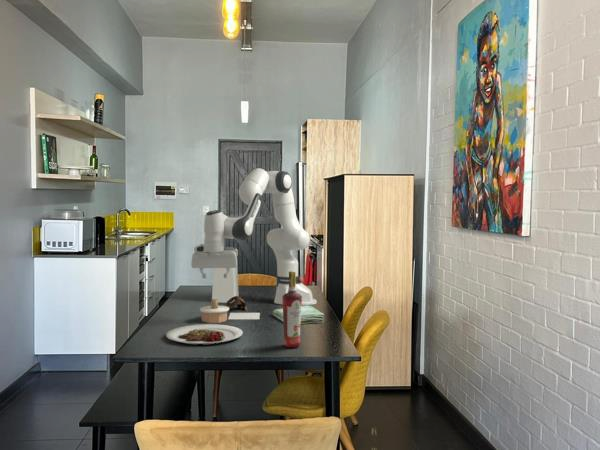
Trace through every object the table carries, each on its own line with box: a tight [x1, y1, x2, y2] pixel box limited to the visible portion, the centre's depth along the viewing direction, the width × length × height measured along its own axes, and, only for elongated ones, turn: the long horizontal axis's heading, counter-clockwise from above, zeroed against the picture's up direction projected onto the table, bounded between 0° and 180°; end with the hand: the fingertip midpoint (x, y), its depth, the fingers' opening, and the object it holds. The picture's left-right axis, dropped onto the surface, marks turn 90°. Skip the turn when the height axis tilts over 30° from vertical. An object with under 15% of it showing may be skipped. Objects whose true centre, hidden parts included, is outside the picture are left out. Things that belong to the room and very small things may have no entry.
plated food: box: [165, 323, 244, 345], centre depth 224 cm, size 30×30×3 cm
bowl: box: [201, 311, 228, 324], centre depth 252 cm, size 11×11×5 cm
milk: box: [211, 266, 240, 304], centre depth 301 cm, size 12×12×26 cm
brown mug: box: [225, 295, 248, 312], centre depth 276 cm, size 12×10×8 cm
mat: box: [227, 312, 261, 320], centre depth 261 cm, size 14×14×1 cm
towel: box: [272, 305, 325, 325], centre depth 257 cm, size 18×21×5 cm
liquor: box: [282, 271, 303, 349], centre depth 210 cm, size 7×7×28 cm
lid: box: [199, 298, 230, 313], centre depth 252 cm, size 13×13×5 cm
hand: (214, 278), depth 251 cm, fingers open, 8 cm apart
